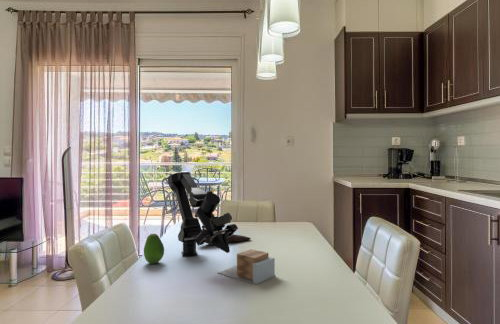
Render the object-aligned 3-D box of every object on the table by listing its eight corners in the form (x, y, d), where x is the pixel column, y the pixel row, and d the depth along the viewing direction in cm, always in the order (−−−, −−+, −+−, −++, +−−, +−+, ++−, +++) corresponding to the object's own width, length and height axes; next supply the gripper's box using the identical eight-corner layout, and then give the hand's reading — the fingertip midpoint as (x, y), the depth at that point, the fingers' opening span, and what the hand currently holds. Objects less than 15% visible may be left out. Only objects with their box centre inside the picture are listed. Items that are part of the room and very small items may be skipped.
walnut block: (237, 275, 126) (236, 253, 126) (251, 269, 132) (251, 249, 132) (254, 280, 121) (254, 258, 121) (268, 274, 127) (268, 252, 127)
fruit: (168, 261, 145) (167, 232, 144) (158, 267, 137) (157, 236, 137) (150, 259, 147) (150, 230, 147) (139, 265, 139) (139, 235, 139)
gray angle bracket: (217, 273, 130) (217, 255, 130) (237, 265, 138) (237, 249, 138) (256, 284, 118) (256, 265, 118) (275, 275, 127) (275, 257, 127)
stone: (196, 239, 164) (205, 218, 167) (192, 238, 170) (200, 218, 173) (246, 258, 175) (253, 238, 178) (240, 256, 181) (247, 237, 184)
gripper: (200, 209, 129) (222, 245, 123) (234, 204, 144) (255, 235, 137) (186, 228, 135) (206, 262, 128) (220, 220, 149) (240, 251, 143)
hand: (228, 252), depth 134 cm, fingers closed
